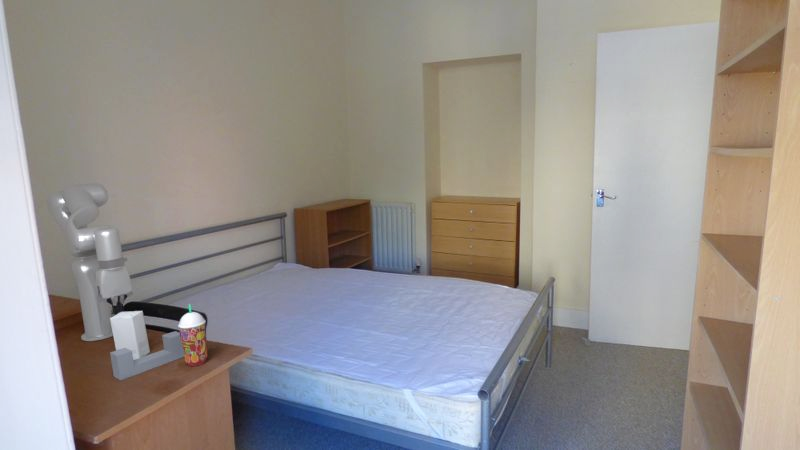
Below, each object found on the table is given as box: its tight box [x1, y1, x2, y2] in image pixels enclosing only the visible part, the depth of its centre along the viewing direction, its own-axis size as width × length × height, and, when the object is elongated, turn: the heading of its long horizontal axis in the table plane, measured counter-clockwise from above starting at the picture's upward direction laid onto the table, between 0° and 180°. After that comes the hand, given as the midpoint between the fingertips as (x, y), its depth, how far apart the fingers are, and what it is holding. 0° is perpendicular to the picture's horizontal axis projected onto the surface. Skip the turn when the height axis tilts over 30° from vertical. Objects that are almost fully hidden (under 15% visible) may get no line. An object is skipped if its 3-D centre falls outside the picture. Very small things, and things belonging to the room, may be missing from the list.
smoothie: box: [177, 303, 208, 367], centre depth 165 cm, size 8×8×20 cm
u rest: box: [109, 330, 185, 381], centre depth 165 cm, size 5×21×8 cm, turn 141°
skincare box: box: [110, 310, 151, 360], centre depth 173 cm, size 8×7×16 cm
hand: (119, 315), depth 176 cm, fingers closed
